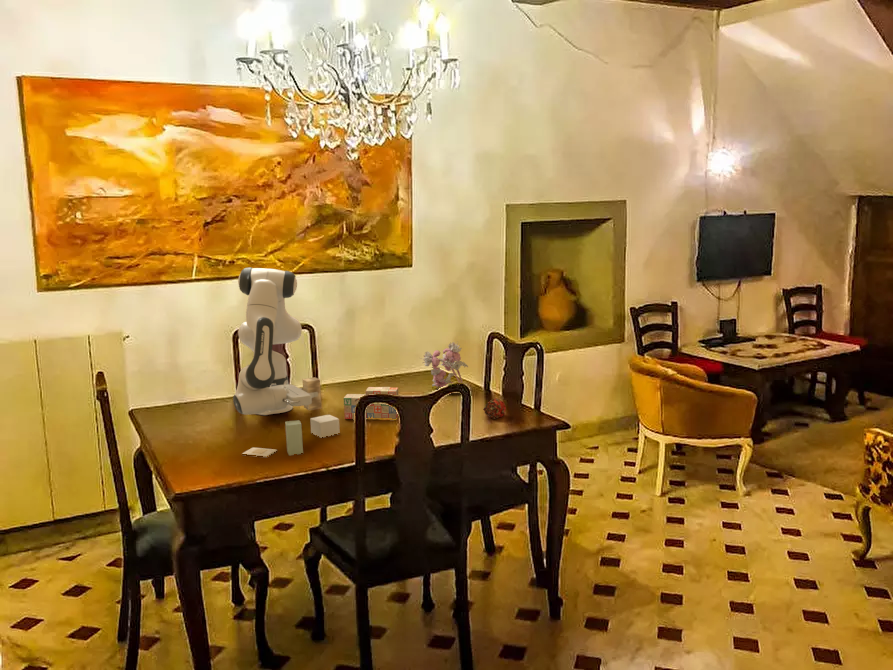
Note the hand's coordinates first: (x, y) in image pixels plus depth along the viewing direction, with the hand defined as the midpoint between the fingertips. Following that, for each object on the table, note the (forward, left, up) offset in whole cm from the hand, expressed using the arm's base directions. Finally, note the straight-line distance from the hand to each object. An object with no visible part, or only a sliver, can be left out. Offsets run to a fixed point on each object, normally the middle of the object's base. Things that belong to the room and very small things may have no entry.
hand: (314, 391), depth 322 cm
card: (-10, -24, -17) cm, 31 cm away
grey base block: (+2, +3, -17) cm, 17 cm away
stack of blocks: (+11, +26, -17) cm, 33 cm away
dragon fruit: (+59, +39, -17) cm, 73 cm away
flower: (+26, +73, -17) cm, 79 cm away
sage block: (+2, -20, -17) cm, 26 cm away
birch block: (-1, -1, -6) cm, 6 cm away
